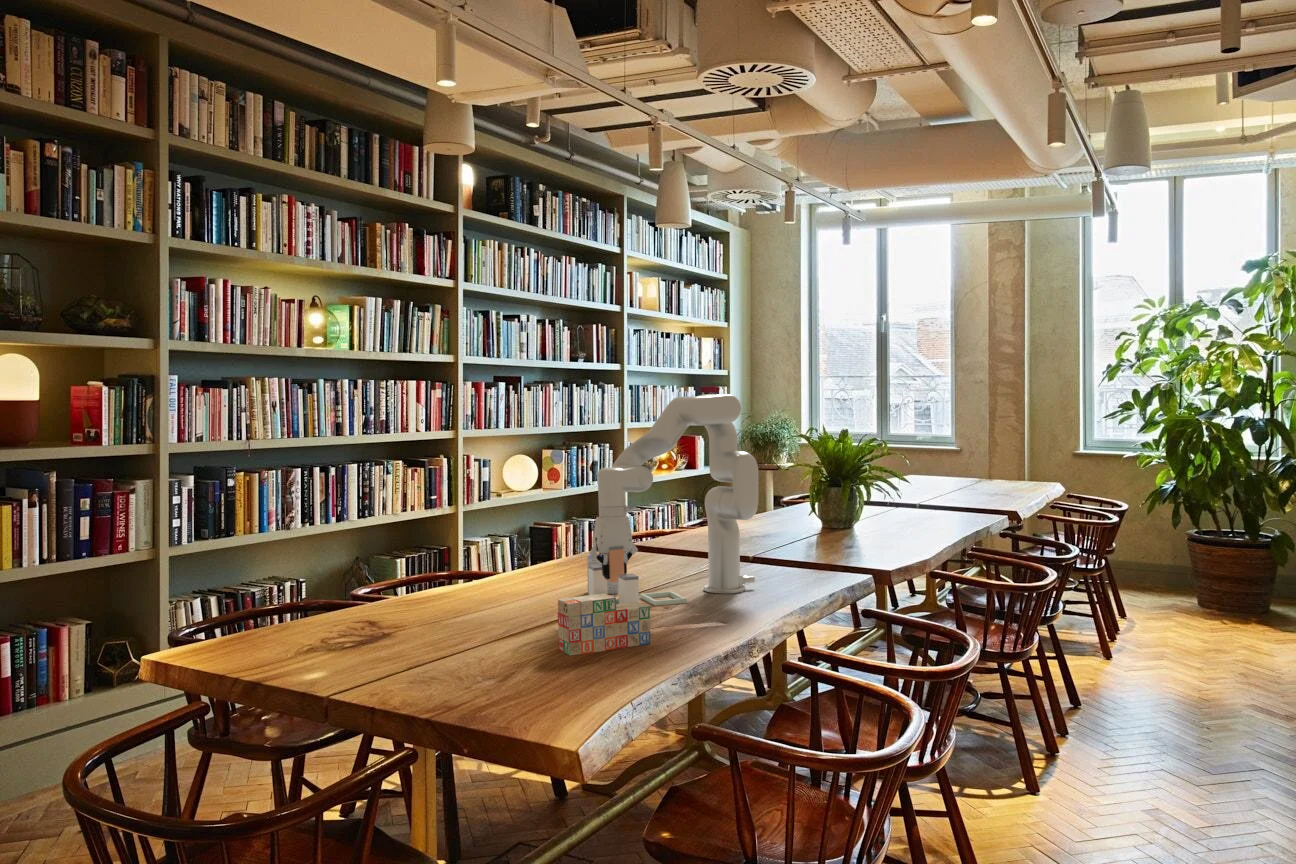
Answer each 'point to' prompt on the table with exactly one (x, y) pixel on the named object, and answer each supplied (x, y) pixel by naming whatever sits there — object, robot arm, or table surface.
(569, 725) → the table surface
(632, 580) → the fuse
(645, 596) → the tray
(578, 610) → the stack of blocks
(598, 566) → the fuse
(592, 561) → the ink cartridge box
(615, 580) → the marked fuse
